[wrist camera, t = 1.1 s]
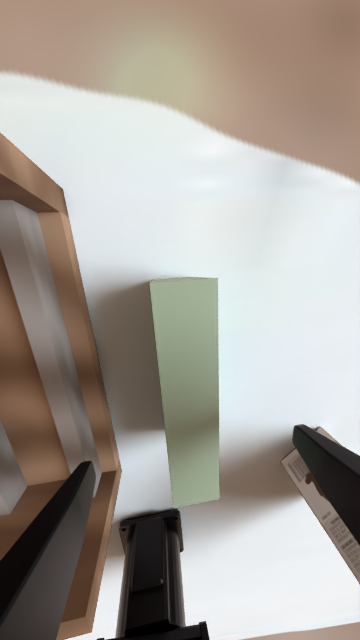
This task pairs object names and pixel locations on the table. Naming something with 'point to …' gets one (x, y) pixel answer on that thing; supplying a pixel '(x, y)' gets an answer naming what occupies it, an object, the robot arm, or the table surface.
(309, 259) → the table surface
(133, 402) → the table surface
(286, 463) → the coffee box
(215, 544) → the table surface
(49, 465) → the cabinet base
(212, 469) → the door panel
